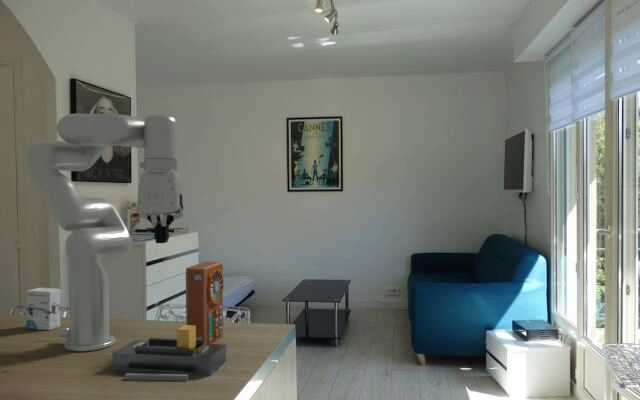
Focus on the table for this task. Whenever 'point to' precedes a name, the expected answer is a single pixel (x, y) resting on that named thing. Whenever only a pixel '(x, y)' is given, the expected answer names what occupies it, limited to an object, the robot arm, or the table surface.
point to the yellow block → (186, 336)
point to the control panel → (205, 300)
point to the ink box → (43, 308)
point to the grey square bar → (156, 376)
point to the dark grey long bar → (148, 371)
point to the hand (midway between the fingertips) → (161, 242)
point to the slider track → (170, 356)
